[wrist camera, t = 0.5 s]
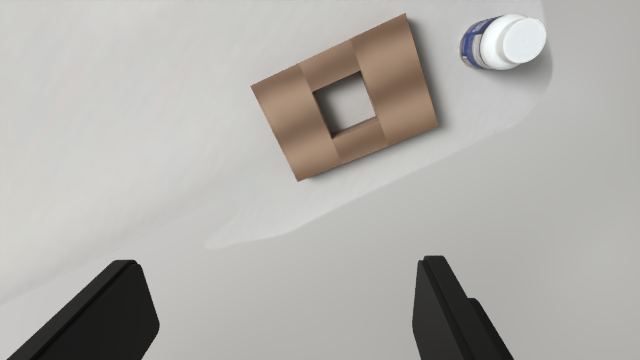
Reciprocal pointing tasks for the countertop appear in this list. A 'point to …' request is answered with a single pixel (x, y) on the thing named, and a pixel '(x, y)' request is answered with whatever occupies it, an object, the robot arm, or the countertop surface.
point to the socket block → (383, 89)
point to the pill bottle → (502, 42)
